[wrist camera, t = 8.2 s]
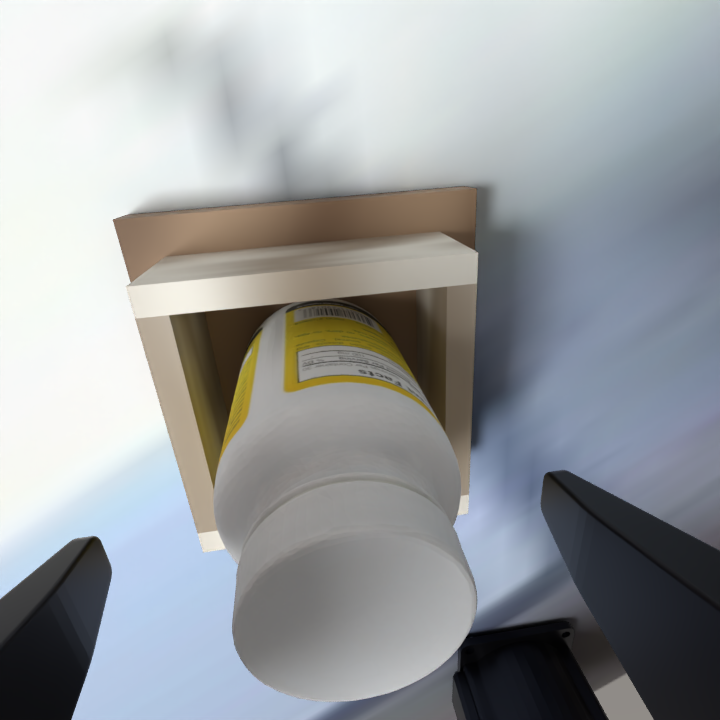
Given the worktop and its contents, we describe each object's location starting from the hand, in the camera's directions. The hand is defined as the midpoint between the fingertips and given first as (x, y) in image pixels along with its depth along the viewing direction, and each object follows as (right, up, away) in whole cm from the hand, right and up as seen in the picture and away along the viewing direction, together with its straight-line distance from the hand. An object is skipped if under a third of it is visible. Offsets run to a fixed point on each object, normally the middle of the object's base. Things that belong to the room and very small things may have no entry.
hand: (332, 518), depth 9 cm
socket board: (-1, +3, +8) cm, 9 cm away
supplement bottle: (-1, +3, +7) cm, 8 cm away
